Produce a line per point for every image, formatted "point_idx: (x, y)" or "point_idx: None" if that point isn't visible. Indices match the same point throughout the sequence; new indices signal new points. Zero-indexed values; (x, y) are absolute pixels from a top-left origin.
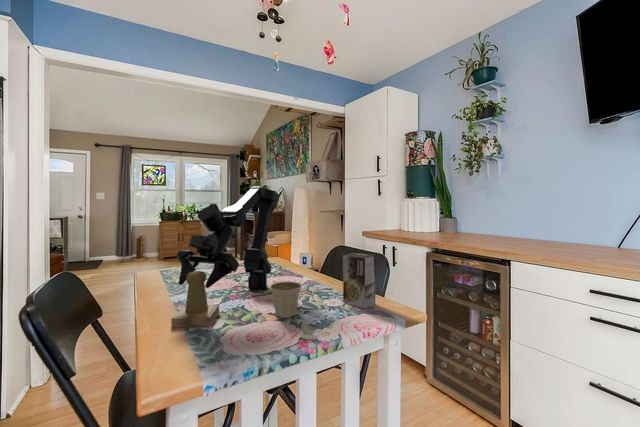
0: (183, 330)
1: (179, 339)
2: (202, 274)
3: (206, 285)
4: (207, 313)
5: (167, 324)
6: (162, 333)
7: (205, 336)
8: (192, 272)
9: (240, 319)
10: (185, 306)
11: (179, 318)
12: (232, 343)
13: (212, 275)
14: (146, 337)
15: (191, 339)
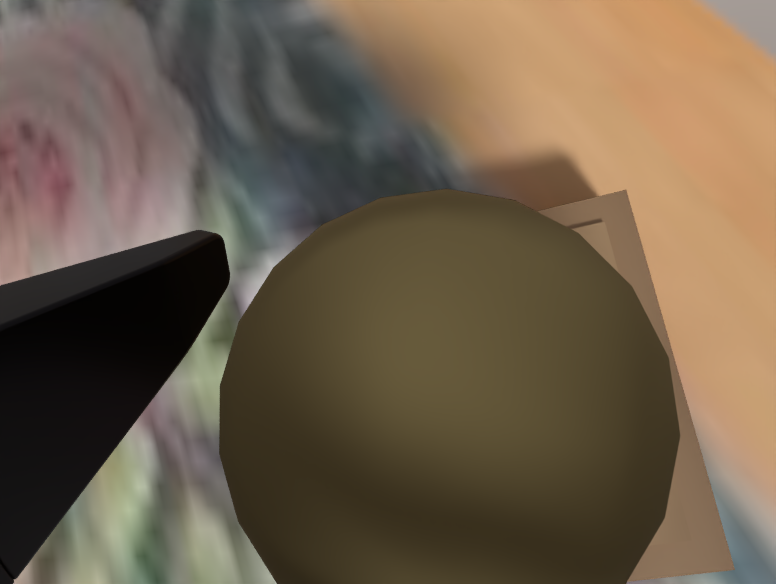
0: (485, 190)
1: (433, 66)
2: (232, 351)
3: (193, 233)
4: None
5: (698, 274)
6: (615, 117)
7: (291, 136)
8: (487, 328)
9: (156, 438)
10: (699, 533)
11: (550, 208)
12: (118, 90)
13: (3, 290)
14: (691, 39)
15: (358, 82)
